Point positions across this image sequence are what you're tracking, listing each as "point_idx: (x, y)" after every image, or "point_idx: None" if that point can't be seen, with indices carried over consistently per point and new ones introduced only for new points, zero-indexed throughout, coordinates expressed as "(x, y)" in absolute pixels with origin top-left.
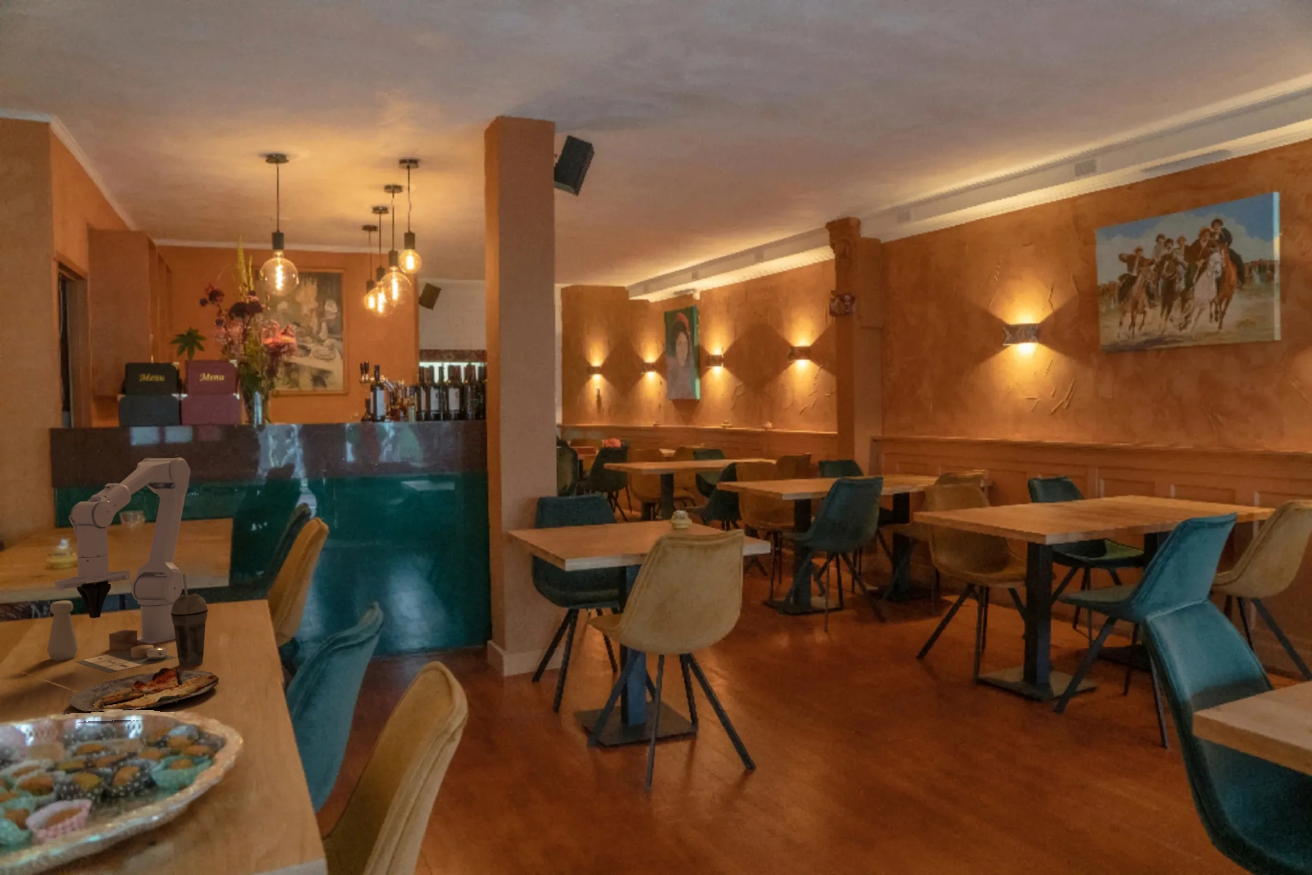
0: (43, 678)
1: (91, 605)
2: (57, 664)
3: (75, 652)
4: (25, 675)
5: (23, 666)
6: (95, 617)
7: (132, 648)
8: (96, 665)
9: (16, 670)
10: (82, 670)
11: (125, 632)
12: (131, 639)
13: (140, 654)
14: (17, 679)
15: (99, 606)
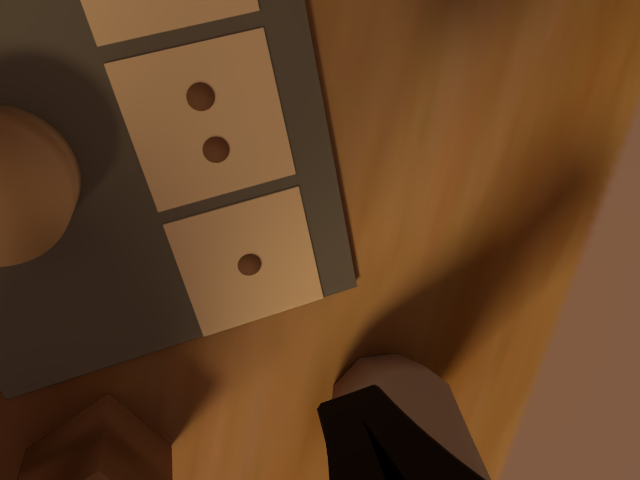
0: (545, 51)
1: (473, 472)
2: (416, 307)
3: (338, 395)
4: (564, 184)
5: (511, 353)
6: (363, 390)
7: (61, 203)
8: (293, 117)
9: (550, 302)
10: (368, 84)
11: None
12: (50, 469)
13: (13, 115)
14: (610, 128)
15: (370, 477)
